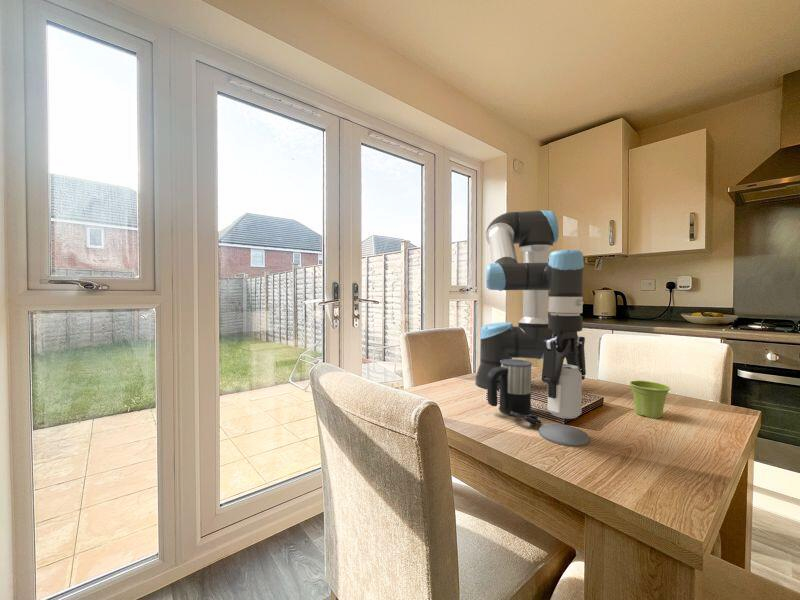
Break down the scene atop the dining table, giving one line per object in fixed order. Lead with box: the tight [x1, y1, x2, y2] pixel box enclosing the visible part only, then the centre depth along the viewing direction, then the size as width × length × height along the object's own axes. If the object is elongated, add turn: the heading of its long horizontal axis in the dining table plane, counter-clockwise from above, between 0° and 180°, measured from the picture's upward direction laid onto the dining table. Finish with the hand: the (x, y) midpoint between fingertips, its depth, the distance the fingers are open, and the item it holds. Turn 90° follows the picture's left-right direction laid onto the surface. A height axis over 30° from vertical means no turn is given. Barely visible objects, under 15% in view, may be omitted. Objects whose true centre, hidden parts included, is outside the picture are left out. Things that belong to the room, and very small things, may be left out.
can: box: [547, 363, 583, 420], centre depth 83 cm, size 8×8×12 cm
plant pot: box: [629, 380, 671, 419], centre depth 97 cm, size 9×9×9 cm
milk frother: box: [486, 358, 542, 426], centre depth 96 cm, size 14×16×15 cm
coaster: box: [539, 423, 590, 447], centre depth 83 cm, size 11×11×1 cm
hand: (564, 407), depth 83 cm, fingers closed on can, 7 cm apart
